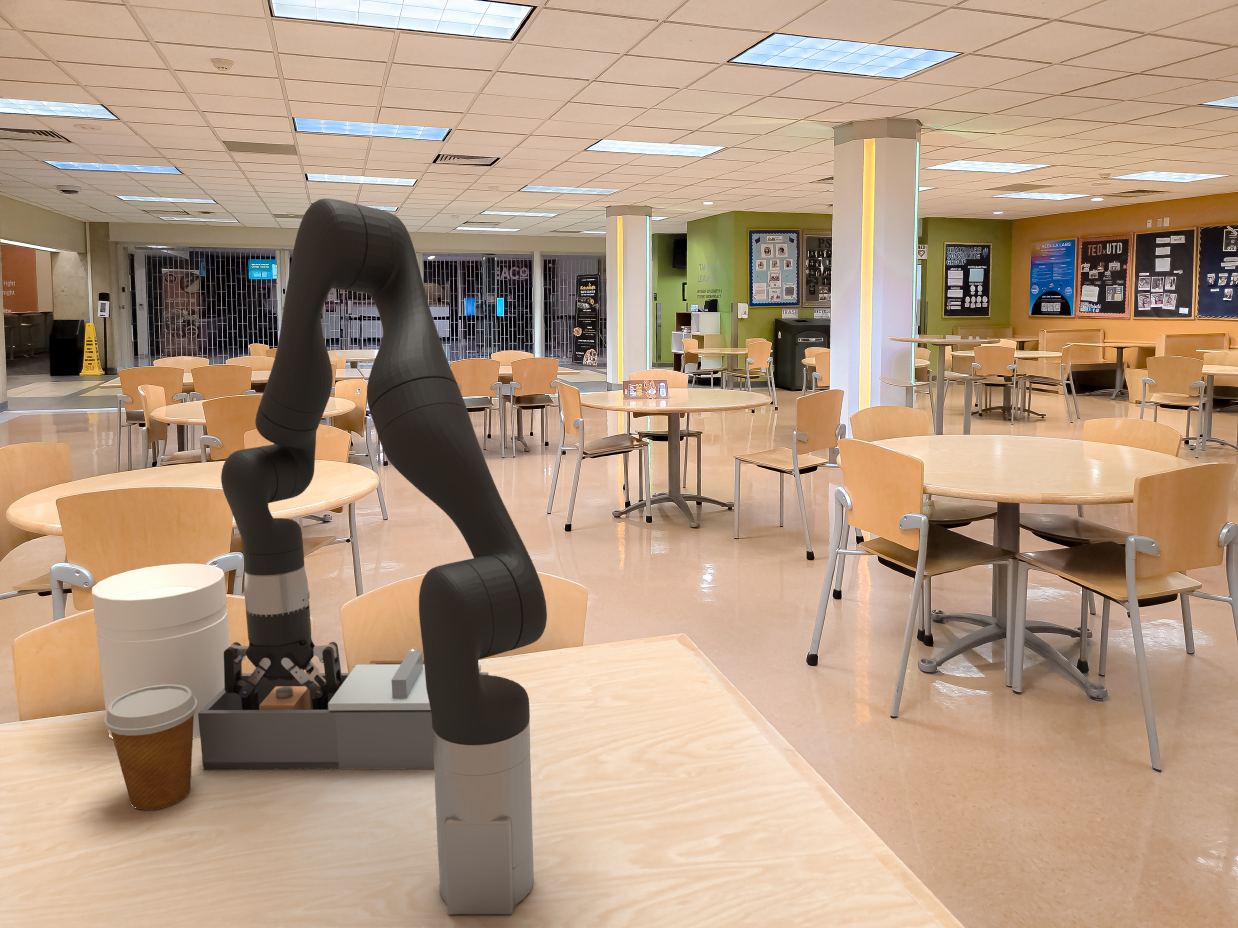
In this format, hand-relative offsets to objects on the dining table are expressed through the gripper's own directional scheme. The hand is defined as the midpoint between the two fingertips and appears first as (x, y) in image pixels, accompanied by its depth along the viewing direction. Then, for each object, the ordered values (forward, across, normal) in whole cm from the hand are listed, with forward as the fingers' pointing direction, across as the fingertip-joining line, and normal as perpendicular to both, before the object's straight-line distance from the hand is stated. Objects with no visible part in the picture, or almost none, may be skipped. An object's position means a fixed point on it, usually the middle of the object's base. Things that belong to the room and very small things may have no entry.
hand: (286, 721), depth 114 cm
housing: (+3, +9, 0) cm, 10 cm away
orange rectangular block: (+2, 0, 0) cm, 2 cm away
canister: (+4, -19, +8) cm, 21 cm away
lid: (-4, +16, 0) cm, 17 cm away
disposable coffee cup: (+4, -11, -12) cm, 16 cm away
